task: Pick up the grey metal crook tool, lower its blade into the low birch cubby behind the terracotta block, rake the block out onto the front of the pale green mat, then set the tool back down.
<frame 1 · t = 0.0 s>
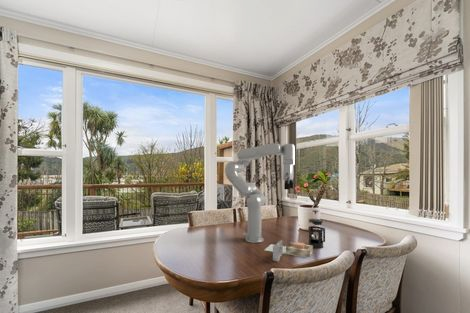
hand: (288, 188, 155), 37 cm above the table, tool pointing down, fingers open, 9 cm apart
mat: (288, 251, 143), on the table
cubby: (299, 249, 141), on the mat
block: (299, 248, 141), in the cubby, touching mat
french press: (316, 247, 152), on the table
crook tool: (276, 260, 128), on the table
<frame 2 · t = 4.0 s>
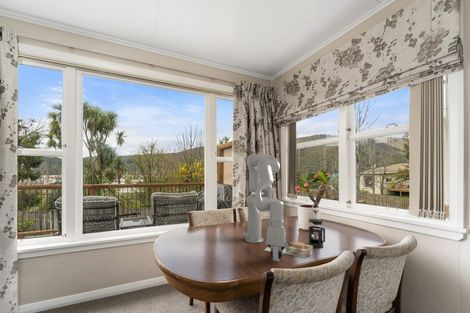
hand: (276, 257, 128), 2 cm above the table, tool pointing down, fingers closed on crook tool, 3 cm apart
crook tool: (276, 260, 128), on the table, touching gripper
everything else where it was.
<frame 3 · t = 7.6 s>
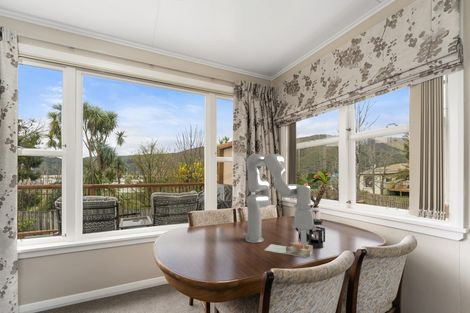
hand: (304, 240, 132), 10 cm above the table, tool pointing down, fingers closed on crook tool, 3 cm apart
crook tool: (304, 244, 131), point 8 cm above the table, touching gripper
everything else where it was.
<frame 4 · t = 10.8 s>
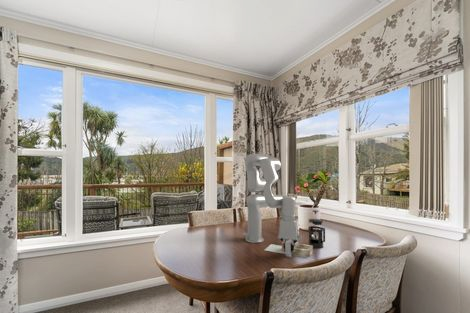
hand: (288, 250, 135), 3 cm above the table, tool pointing down, fingers closed on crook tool, 3 cm apart
block: (286, 246, 144), resting on mat, touching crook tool
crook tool: (288, 256, 135), on the table, touching block, gripper
everything else where it was.
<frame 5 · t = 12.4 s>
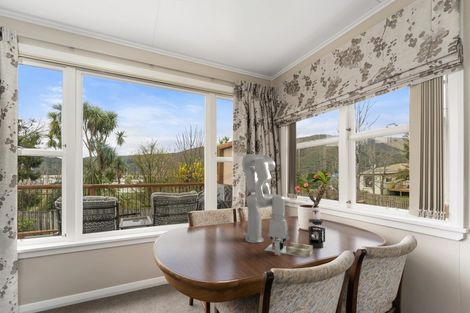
hand: (278, 248, 138), 3 cm above the table, tool pointing down, fingers closed on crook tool, 3 cm apart
block: (277, 244, 146), on the mat, touching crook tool
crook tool: (277, 254, 137), on the table, touching block, gripper
everything else where it was.
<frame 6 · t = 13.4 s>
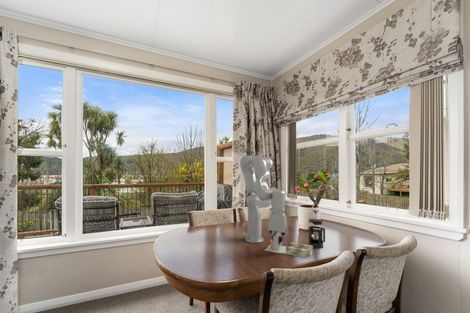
hand: (277, 242, 139), 7 cm above the table, tool pointing down, fingers closed on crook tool, 3 cm apart
block: (275, 244, 147), on the mat
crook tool: (276, 249, 138), point 3 cm above the table, touching gripper
everything else where it was.
when the fingers open (4 cm above the table, at t = 17.9 s): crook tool stays where it is, on the table.
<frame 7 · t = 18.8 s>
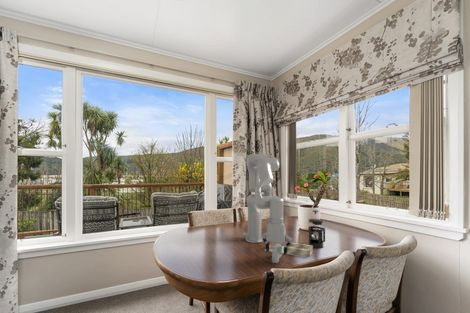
hand: (276, 252, 129), 4 cm above the table, tool pointing down, fingers open, 9 cm apart
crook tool: (275, 261, 127), on the table
everything else where it was.
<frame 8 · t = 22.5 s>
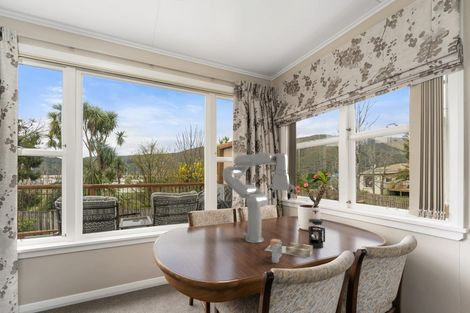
hand: (281, 198, 153), 30 cm above the table, tool pointing down, fingers open, 9 cm apart
nothing on the table moved.
at the end: block inside the target area (1.4 cm from its centre), resting on mat; block tilted 0°; the gripper is holding nothing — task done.
